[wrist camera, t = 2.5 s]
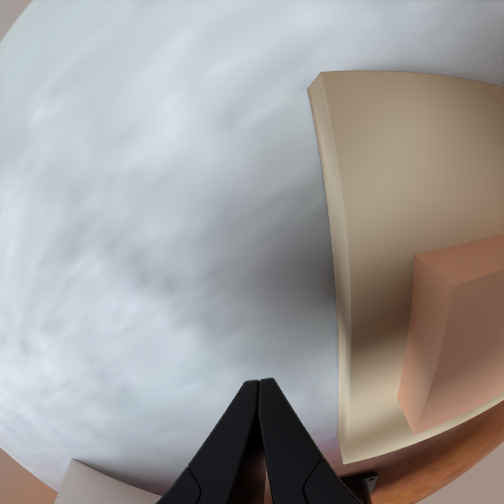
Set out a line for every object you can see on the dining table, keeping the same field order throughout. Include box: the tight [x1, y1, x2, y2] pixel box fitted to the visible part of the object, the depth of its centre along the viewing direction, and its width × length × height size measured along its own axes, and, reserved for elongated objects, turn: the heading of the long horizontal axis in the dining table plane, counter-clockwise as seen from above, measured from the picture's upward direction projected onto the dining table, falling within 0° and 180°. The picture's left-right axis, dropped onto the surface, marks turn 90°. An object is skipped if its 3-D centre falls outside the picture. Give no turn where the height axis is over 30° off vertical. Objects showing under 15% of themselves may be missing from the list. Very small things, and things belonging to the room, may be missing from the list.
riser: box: [307, 71, 504, 465], centre depth 9 cm, size 16×12×2 cm
